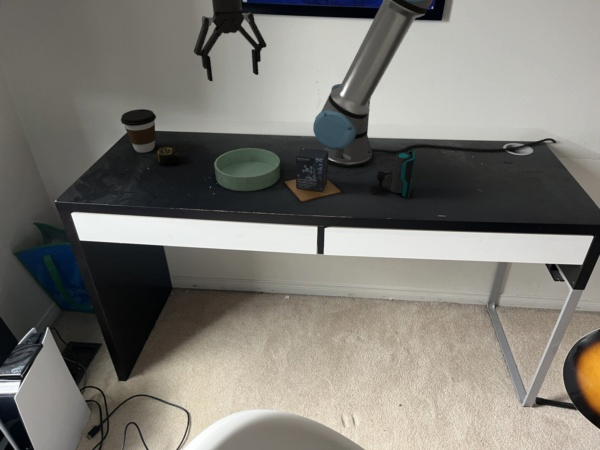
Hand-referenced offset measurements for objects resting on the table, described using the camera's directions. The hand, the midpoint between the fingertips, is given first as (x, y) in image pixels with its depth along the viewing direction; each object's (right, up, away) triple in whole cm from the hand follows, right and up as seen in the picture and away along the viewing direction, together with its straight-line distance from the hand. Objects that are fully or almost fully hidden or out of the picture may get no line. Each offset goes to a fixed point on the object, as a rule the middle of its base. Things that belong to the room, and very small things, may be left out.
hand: (233, 76), depth 135 cm
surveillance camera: (+45, -33, -2) cm, 56 cm away
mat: (+22, -32, 0) cm, 39 cm away
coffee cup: (-33, -17, +23) cm, 44 cm away
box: (+22, -31, 0) cm, 39 cm away
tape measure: (-22, -22, +16) cm, 35 cm away
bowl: (+3, -27, +7) cm, 29 cm away
